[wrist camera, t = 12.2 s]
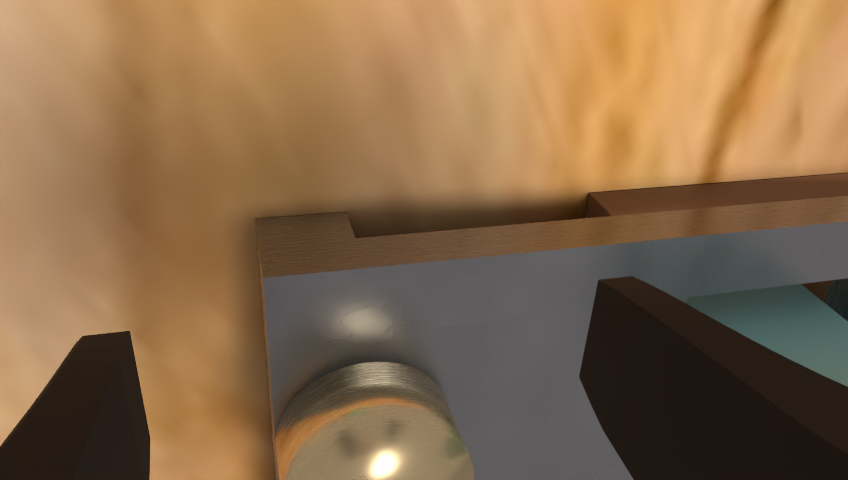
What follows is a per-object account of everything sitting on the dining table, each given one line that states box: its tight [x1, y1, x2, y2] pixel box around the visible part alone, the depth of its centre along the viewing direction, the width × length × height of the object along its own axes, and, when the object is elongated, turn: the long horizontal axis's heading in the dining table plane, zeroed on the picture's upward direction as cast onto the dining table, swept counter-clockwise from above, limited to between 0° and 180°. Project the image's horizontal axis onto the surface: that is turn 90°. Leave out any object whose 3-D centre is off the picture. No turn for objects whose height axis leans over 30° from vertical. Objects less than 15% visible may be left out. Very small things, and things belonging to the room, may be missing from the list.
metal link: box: [256, 196, 848, 480], centre depth 23 cm, size 11×21×5 cm, turn 87°
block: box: [686, 284, 848, 387], centre depth 23 cm, size 4×4×9 cm
